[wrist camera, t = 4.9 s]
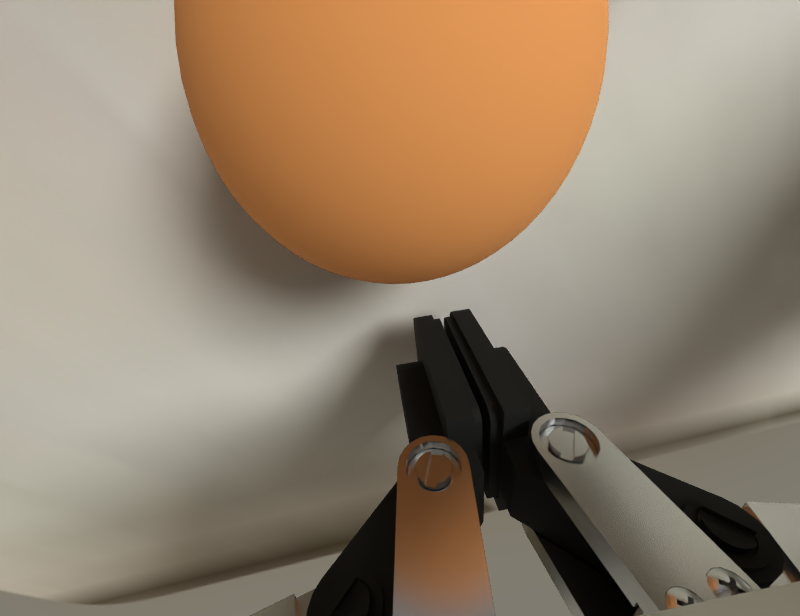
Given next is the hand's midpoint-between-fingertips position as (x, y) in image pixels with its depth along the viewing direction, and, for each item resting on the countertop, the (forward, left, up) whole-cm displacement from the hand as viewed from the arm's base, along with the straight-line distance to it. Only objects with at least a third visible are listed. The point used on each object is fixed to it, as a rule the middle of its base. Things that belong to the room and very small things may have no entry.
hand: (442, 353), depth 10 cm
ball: (+1, -7, +2) cm, 7 cm away
